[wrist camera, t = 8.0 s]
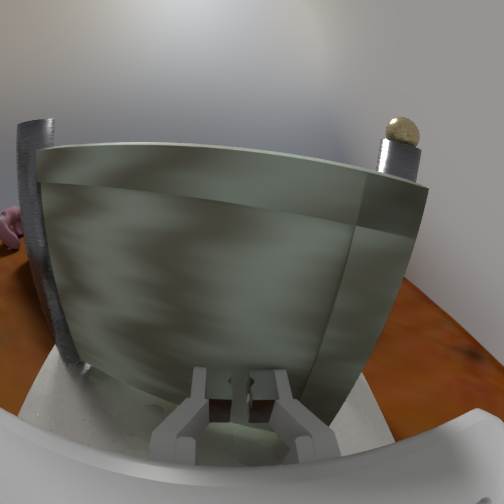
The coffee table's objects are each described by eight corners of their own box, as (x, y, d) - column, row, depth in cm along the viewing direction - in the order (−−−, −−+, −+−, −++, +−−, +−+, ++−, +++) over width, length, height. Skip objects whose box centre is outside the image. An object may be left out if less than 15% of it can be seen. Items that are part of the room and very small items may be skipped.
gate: (78, 361, 15) (36, 150, 9) (94, 345, 17) (64, 145, 11) (317, 442, 12) (428, 188, 7) (320, 416, 14) (408, 179, 8)
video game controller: (27, 237, 39) (11, 207, 35) (42, 226, 39) (25, 194, 35) (5, 260, 30) (-15, 224, 26) (19, 247, 30) (-1, 210, 27)
